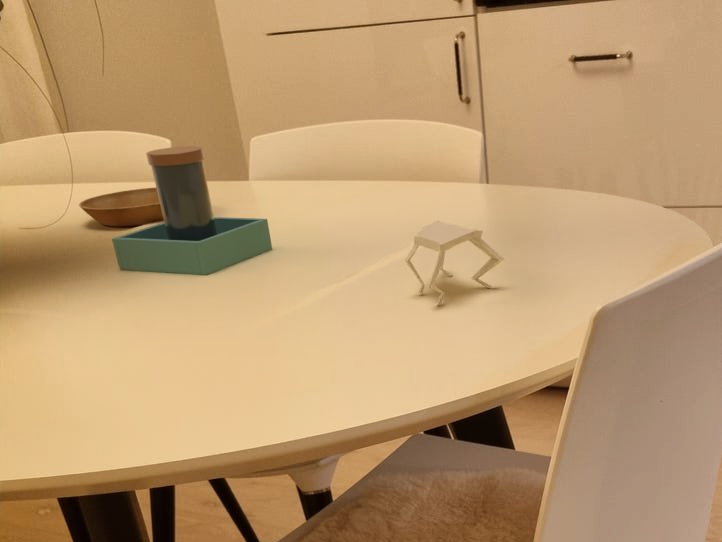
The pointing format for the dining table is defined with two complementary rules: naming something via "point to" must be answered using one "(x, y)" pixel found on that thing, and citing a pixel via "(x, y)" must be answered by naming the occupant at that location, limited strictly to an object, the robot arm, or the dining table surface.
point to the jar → (183, 192)
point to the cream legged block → (445, 238)
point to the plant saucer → (125, 207)
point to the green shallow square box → (193, 248)
